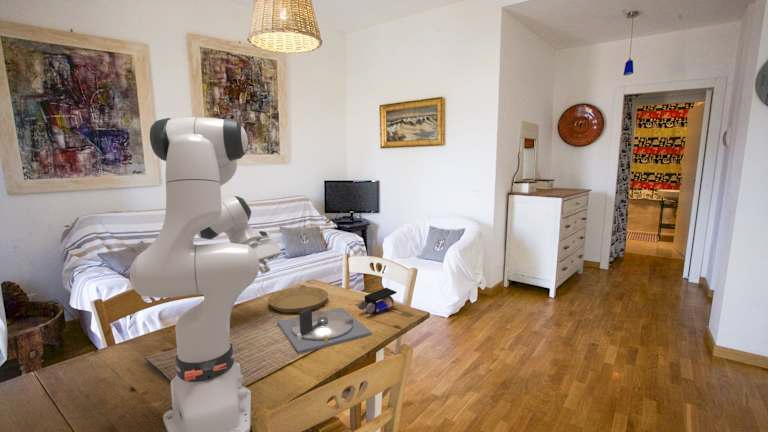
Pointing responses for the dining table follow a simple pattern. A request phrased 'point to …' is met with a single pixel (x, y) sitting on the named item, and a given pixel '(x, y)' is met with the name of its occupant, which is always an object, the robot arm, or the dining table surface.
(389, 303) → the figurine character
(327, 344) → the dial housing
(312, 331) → the dial
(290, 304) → the plant saucer
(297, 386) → the dining table surface
